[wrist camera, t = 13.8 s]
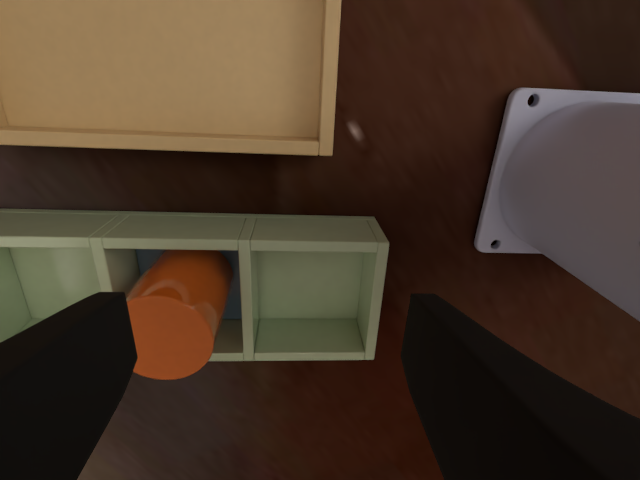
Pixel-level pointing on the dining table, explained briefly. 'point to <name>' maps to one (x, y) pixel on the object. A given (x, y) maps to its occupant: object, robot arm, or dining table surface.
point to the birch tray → (170, 74)
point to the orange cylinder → (179, 311)
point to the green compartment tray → (243, 256)
